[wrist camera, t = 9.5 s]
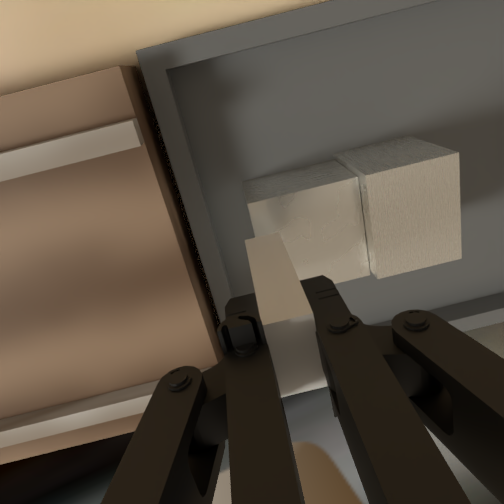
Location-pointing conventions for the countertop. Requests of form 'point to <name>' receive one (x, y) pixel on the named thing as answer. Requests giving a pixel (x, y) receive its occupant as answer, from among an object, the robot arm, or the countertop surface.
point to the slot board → (90, 265)
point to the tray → (341, 131)
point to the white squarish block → (313, 219)
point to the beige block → (407, 203)
